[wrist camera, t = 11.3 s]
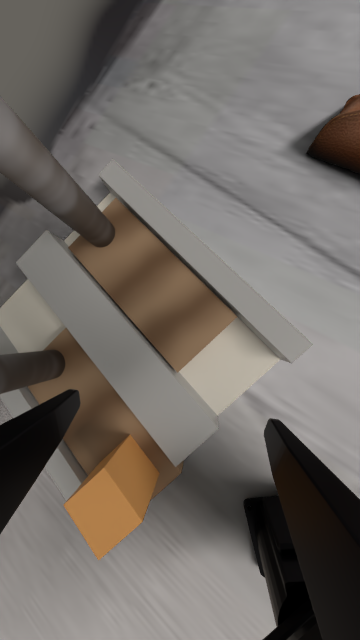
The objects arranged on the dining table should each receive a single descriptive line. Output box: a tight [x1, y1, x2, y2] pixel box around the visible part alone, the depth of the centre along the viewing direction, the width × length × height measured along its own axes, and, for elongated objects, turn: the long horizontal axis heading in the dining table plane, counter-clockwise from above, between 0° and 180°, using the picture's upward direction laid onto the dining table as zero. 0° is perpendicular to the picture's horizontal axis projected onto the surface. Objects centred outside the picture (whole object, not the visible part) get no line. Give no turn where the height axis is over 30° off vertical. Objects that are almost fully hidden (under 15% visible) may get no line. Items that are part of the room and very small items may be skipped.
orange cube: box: [64, 435, 159, 560], centre depth 15 cm, size 4×4×4 cm
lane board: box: [0, 159, 313, 501], centre depth 20 cm, size 28×27×3 cm
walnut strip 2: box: [0, 328, 184, 500], centre depth 14 cm, size 19×8×13 cm, turn 43°
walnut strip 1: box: [0, 96, 237, 373], centre depth 14 cm, size 19×8×13 cm, turn 43°
